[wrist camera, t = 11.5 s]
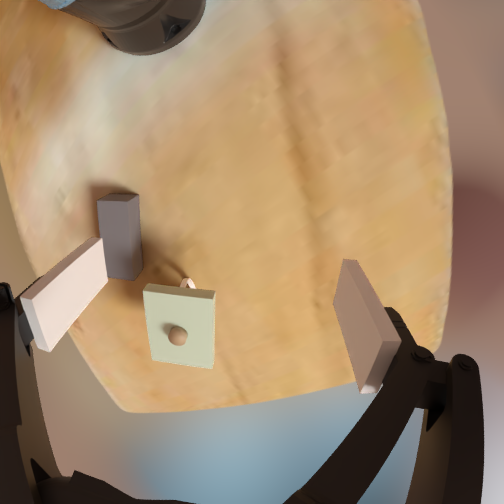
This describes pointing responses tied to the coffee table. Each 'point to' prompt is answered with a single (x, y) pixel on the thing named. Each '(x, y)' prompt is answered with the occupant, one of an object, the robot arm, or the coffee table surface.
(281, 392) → the coffee table surface
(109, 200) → the block
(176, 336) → the lid
